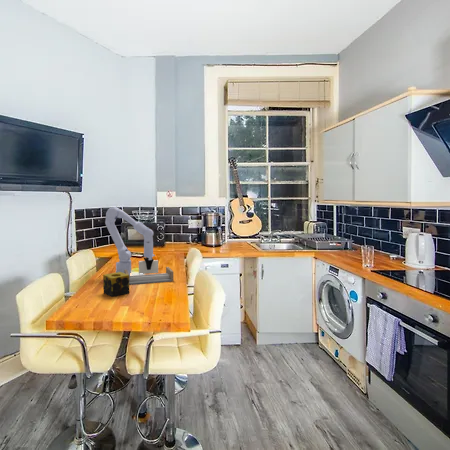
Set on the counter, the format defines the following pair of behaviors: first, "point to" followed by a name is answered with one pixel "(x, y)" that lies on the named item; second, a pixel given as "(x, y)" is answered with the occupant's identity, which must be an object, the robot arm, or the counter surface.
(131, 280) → the cabinet base
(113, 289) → the black and yellow cube
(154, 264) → the door panel
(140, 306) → the counter surface
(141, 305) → the counter surface
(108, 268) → the counter surface
